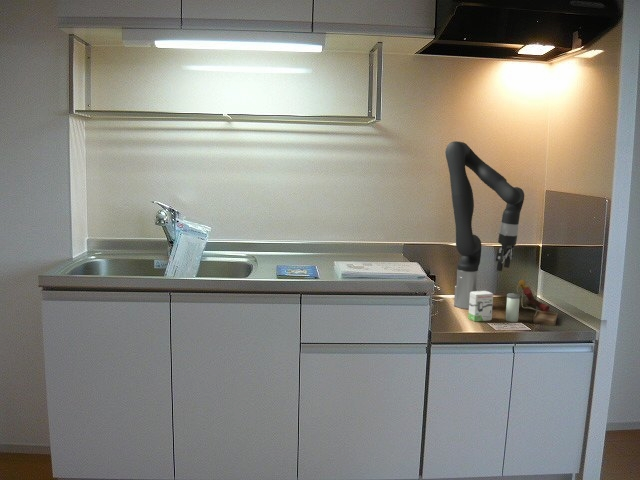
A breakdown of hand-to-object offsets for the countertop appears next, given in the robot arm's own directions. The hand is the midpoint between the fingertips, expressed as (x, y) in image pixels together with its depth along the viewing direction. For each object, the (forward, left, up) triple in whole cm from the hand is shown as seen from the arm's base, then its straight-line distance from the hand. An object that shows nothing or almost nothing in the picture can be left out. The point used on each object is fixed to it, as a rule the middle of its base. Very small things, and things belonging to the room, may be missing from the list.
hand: (503, 269), depth 237 cm
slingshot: (+11, +12, -20) cm, 25 cm away
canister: (+7, -11, -19) cm, 23 cm away
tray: (+19, -3, -19) cm, 27 cm away
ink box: (-5, -17, -20) cm, 26 cm away
